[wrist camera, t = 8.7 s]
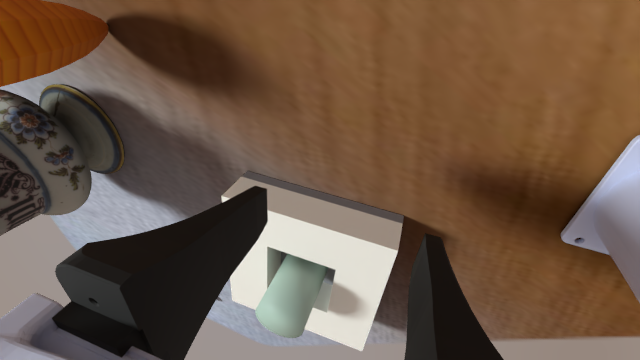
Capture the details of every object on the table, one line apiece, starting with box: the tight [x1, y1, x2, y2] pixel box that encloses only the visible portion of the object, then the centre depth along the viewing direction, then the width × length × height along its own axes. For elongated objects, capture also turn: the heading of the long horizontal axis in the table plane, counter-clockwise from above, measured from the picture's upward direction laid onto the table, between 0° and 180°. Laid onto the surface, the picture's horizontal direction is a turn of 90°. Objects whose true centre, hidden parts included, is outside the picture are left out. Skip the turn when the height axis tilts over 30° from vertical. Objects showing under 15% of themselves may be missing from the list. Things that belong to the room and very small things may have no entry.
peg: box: [256, 254, 329, 338], centre depth 26 cm, size 4×4×7 cm
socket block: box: [221, 171, 404, 351], centre depth 28 cm, size 14×14×4 cm
